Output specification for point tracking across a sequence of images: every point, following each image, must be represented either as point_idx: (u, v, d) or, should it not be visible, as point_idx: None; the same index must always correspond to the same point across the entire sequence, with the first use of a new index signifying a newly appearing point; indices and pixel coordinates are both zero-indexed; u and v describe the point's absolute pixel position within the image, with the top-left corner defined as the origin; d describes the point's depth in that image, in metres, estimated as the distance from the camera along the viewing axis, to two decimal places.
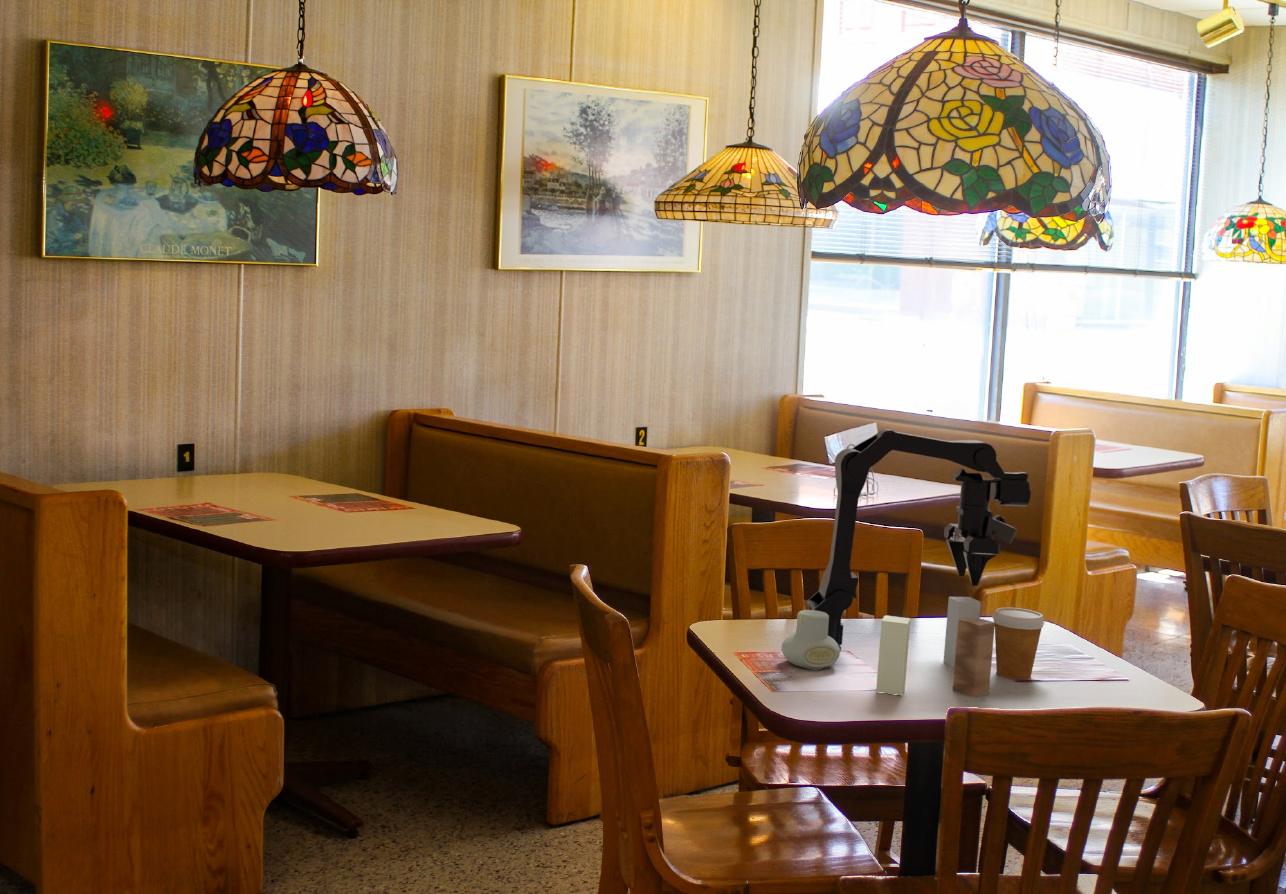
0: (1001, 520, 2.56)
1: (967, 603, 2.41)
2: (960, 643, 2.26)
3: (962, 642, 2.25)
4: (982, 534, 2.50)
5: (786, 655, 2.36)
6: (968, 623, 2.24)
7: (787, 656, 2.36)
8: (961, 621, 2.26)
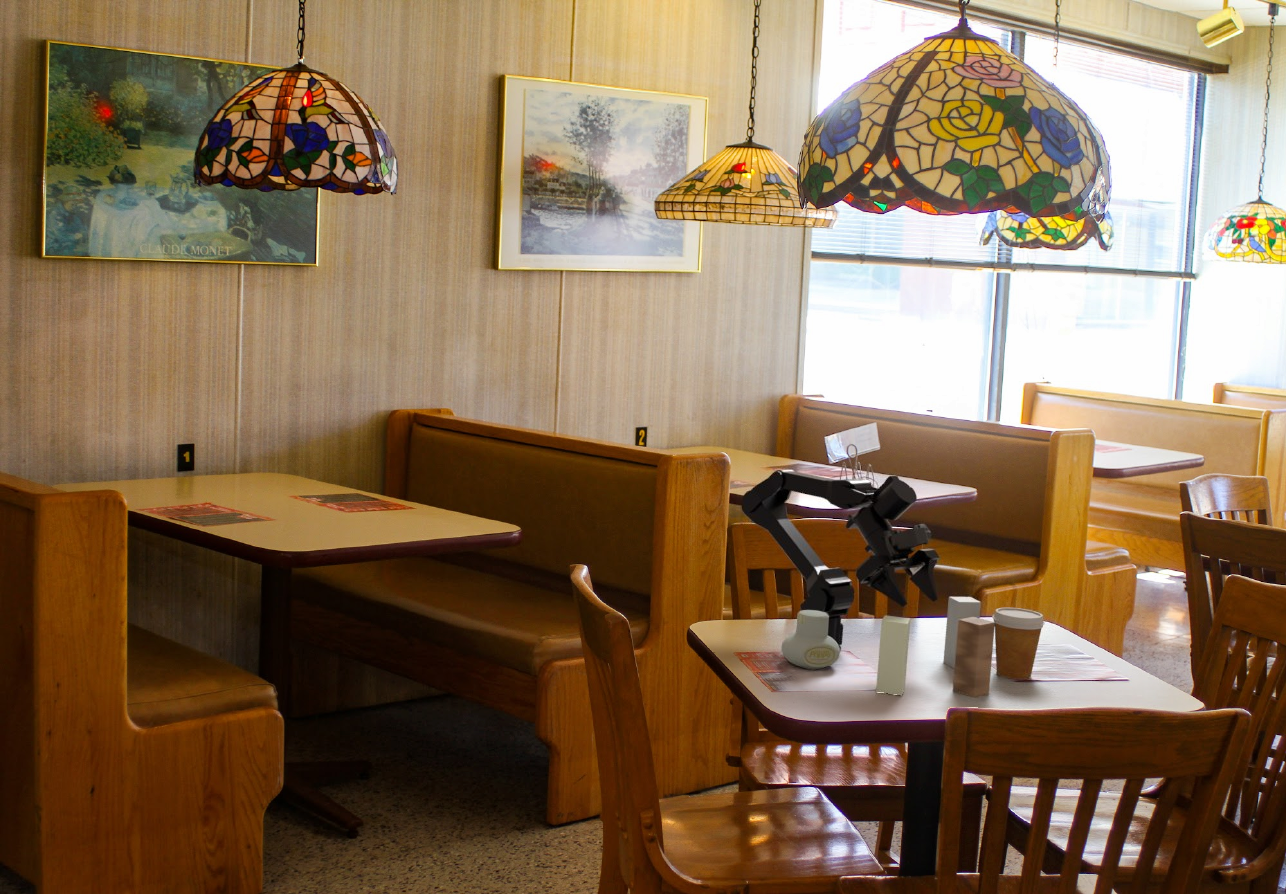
0: None
1: (967, 603, 2.41)
2: (960, 643, 2.26)
3: (962, 642, 2.25)
4: (889, 555, 2.37)
5: (786, 655, 2.36)
6: (968, 623, 2.24)
7: (787, 656, 2.36)
8: (961, 621, 2.26)
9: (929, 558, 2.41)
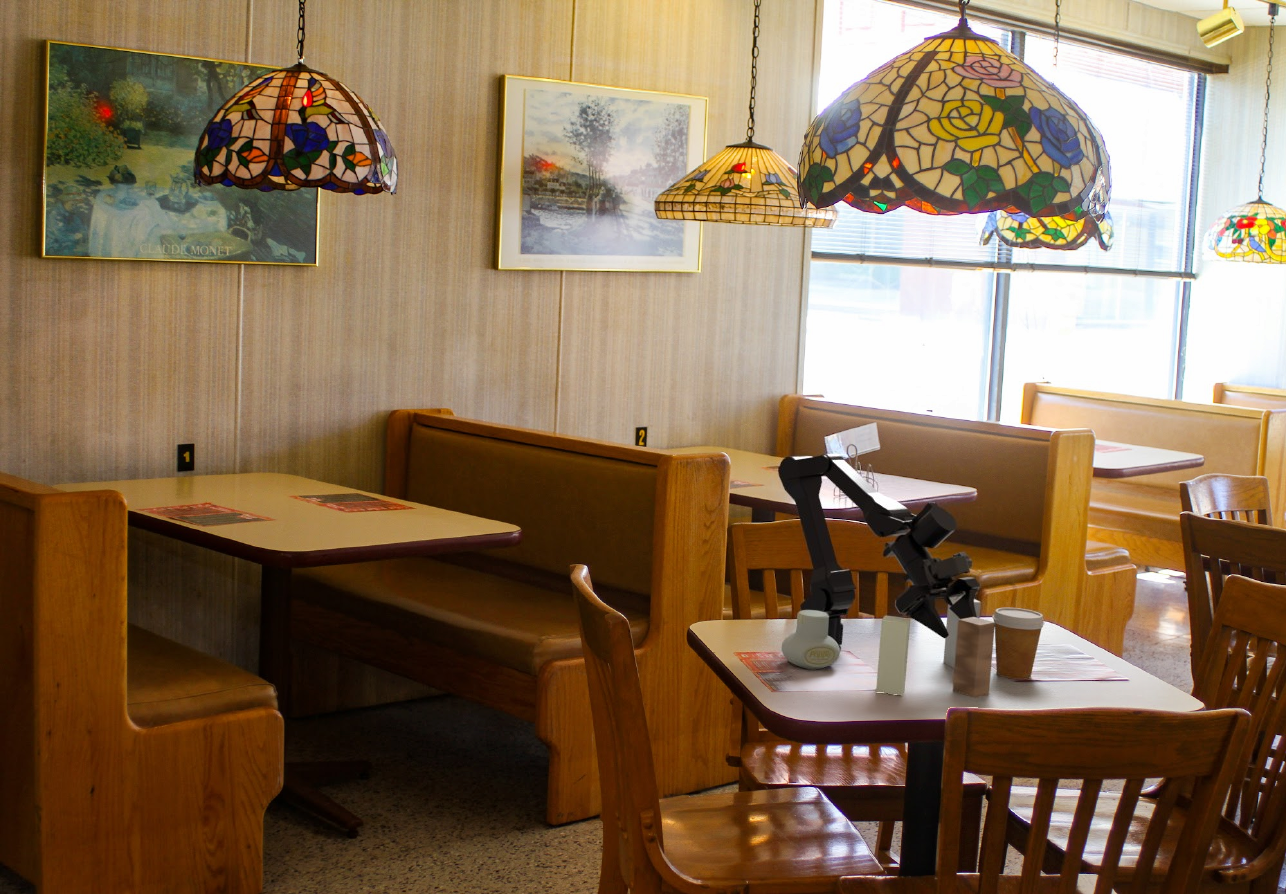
0: None
1: None
2: (960, 643, 2.26)
3: (962, 642, 2.25)
4: (929, 585, 2.30)
5: (786, 655, 2.36)
6: (968, 623, 2.24)
7: (787, 656, 2.36)
8: (961, 621, 2.26)
9: (970, 587, 2.34)
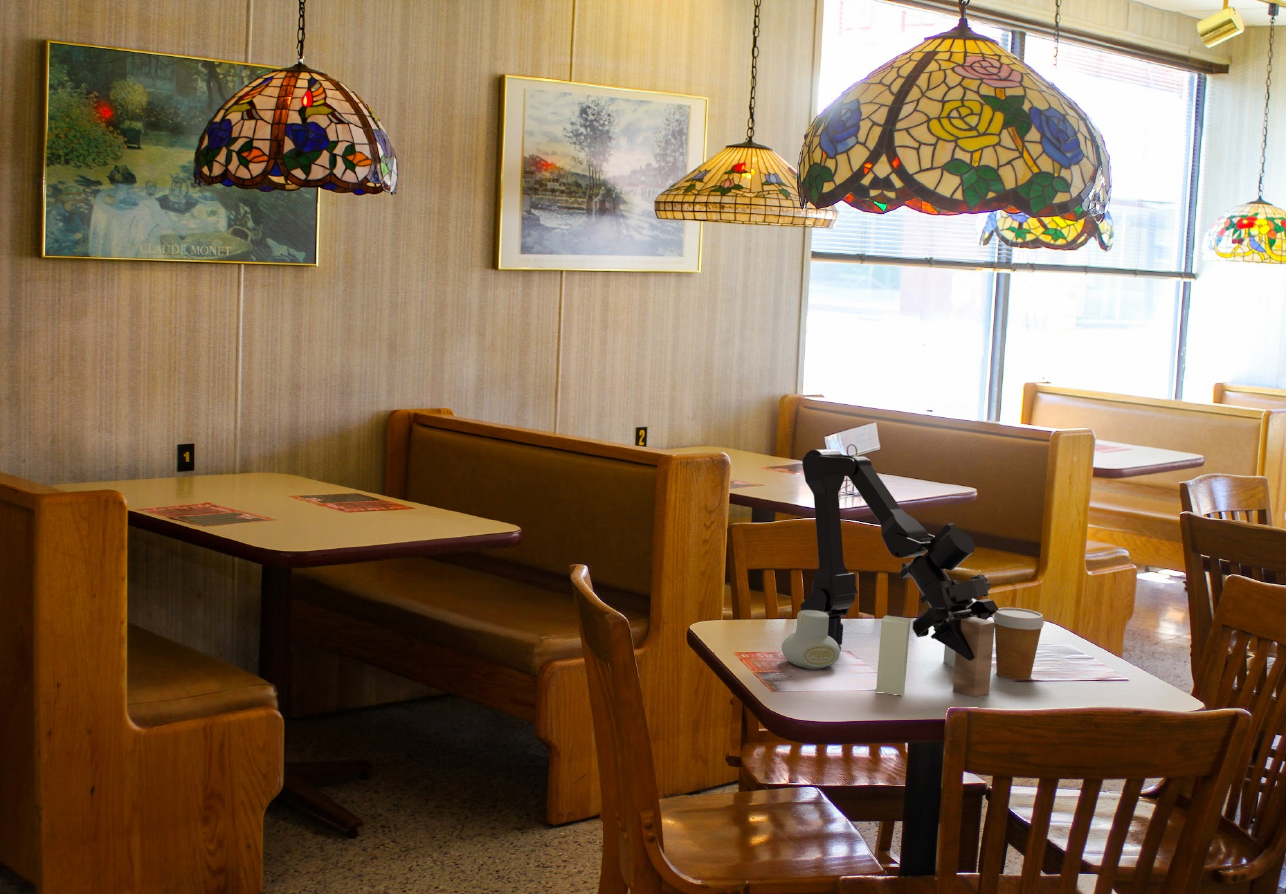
0: None
1: None
2: None
3: None
4: (947, 608, 2.27)
5: (786, 655, 2.36)
6: (968, 623, 2.24)
7: (787, 656, 2.36)
8: (961, 621, 2.26)
9: (988, 609, 2.31)
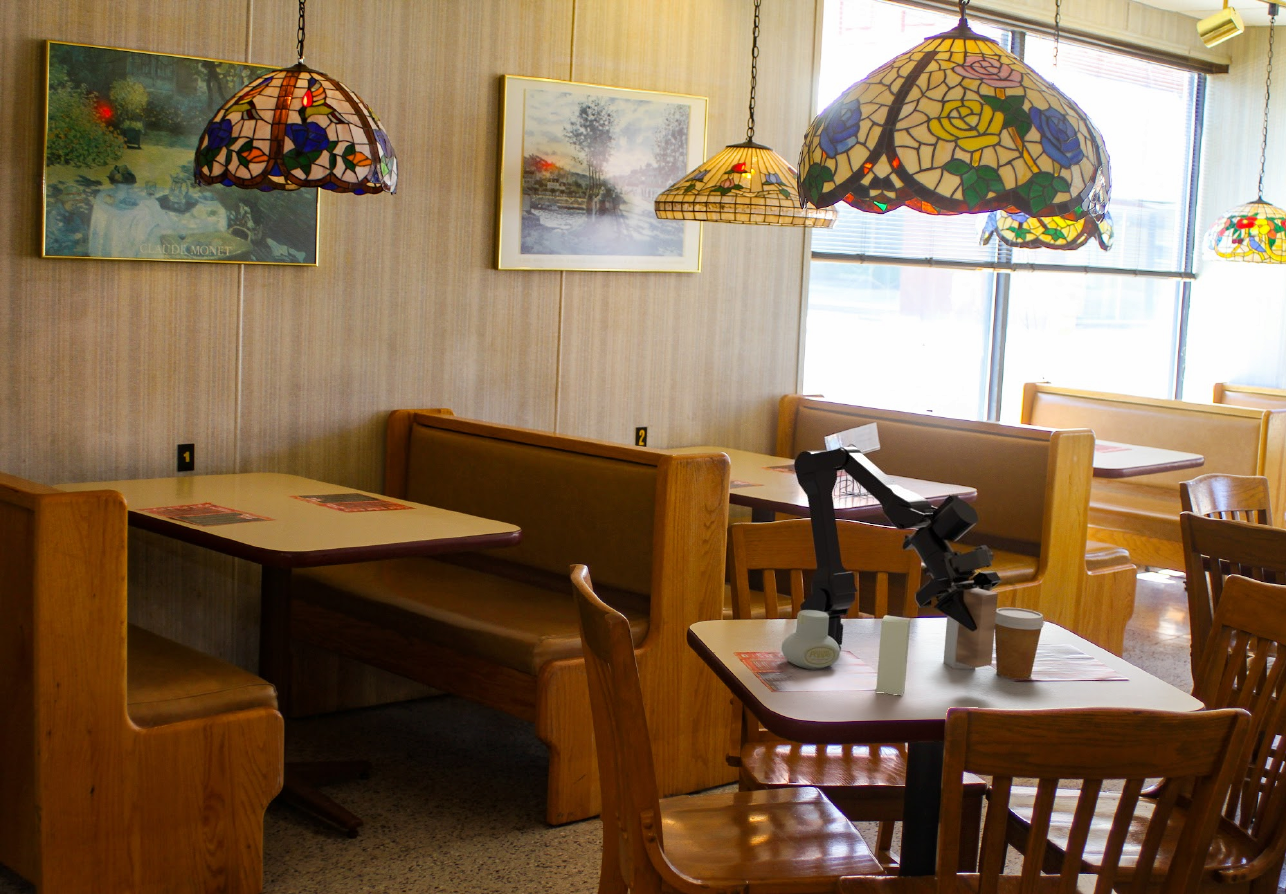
0: None
1: None
2: None
3: None
4: (950, 578, 2.27)
5: (786, 655, 2.36)
6: (971, 594, 2.24)
7: (787, 656, 2.36)
8: (964, 592, 2.25)
9: (990, 581, 2.30)
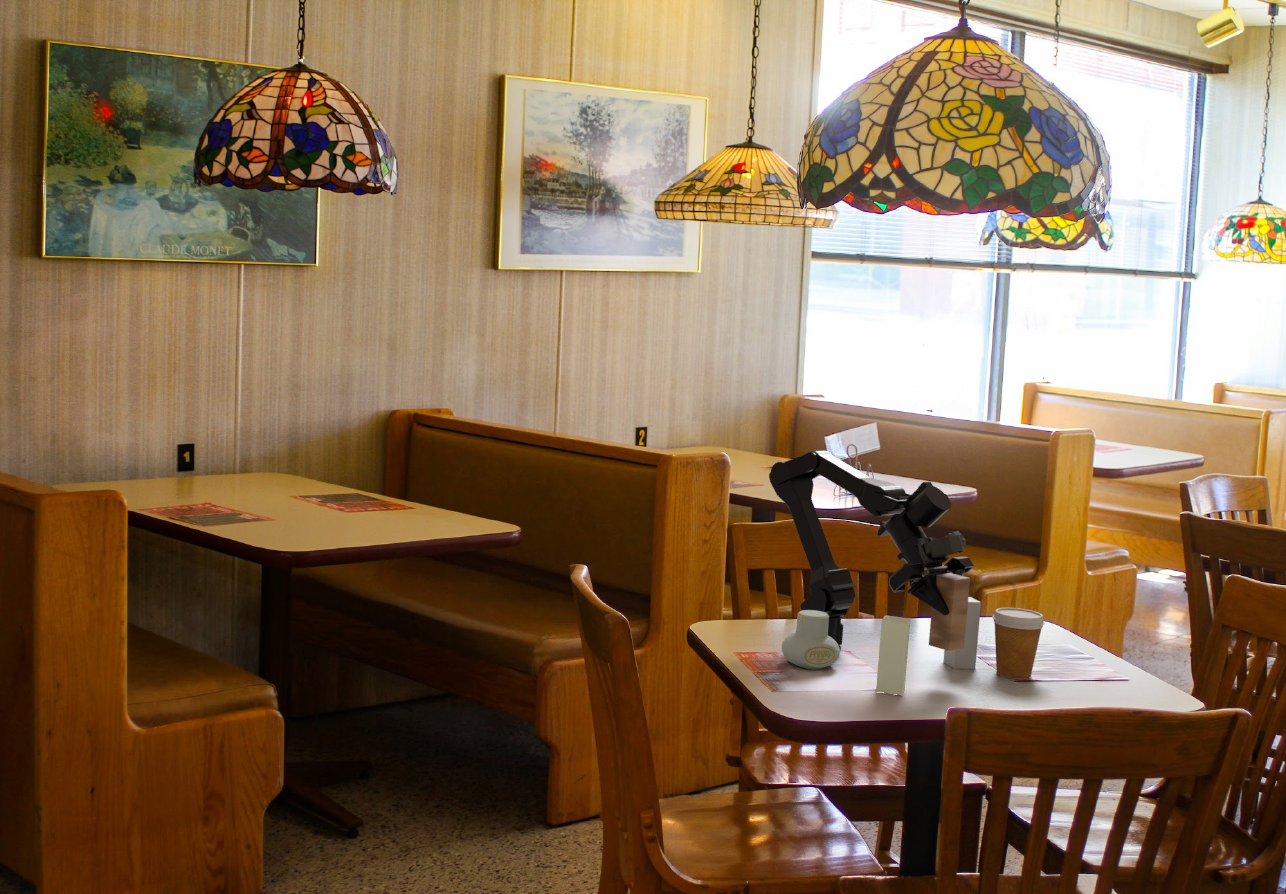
0: None
1: None
2: None
3: None
4: (923, 564, 2.31)
5: (786, 655, 2.36)
6: (944, 578, 2.28)
7: (787, 656, 2.36)
8: (937, 576, 2.29)
9: (963, 566, 2.35)
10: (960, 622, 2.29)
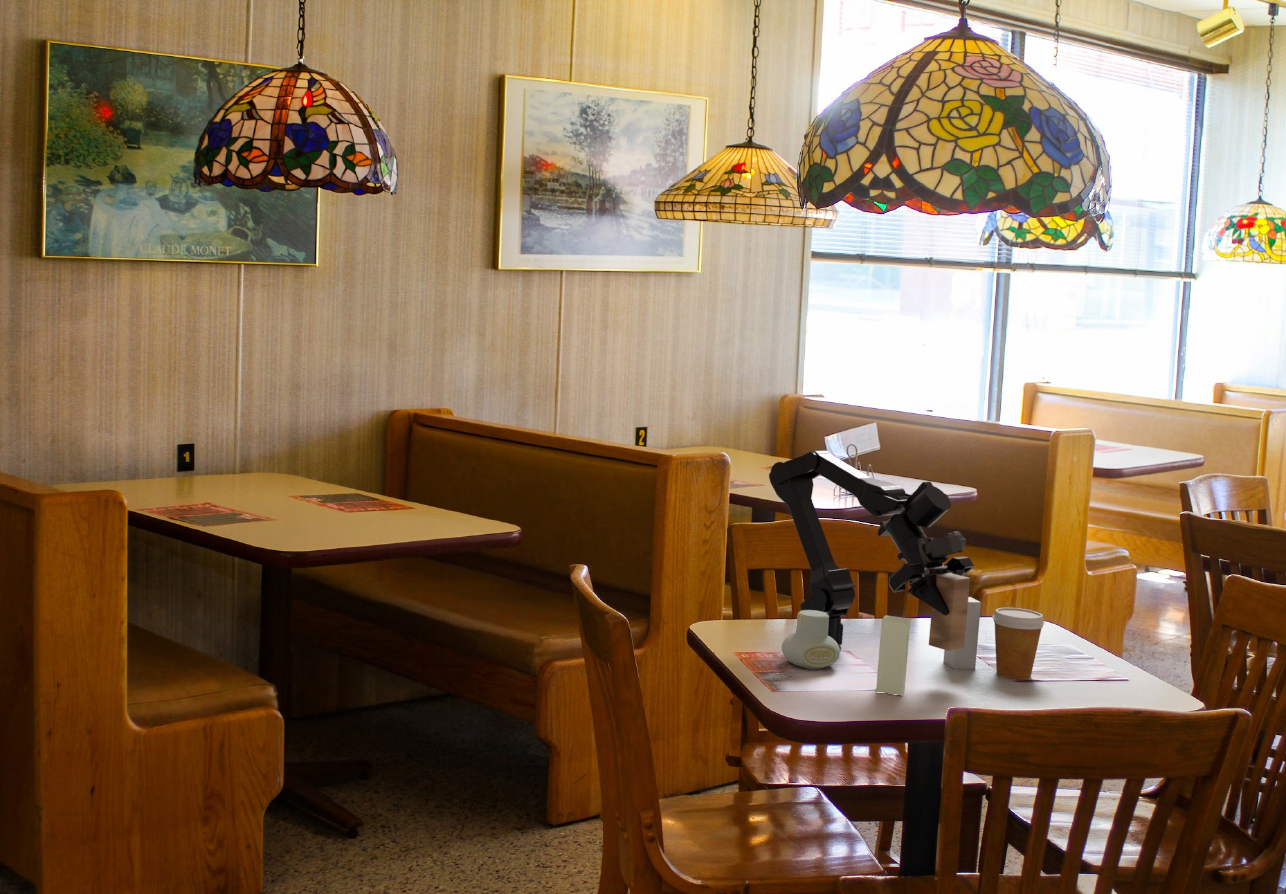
0: None
1: None
2: None
3: None
4: (923, 564, 2.31)
5: (786, 655, 2.36)
6: (944, 578, 2.28)
7: (787, 656, 2.36)
8: (937, 576, 2.29)
9: (963, 566, 2.35)
10: (960, 622, 2.29)
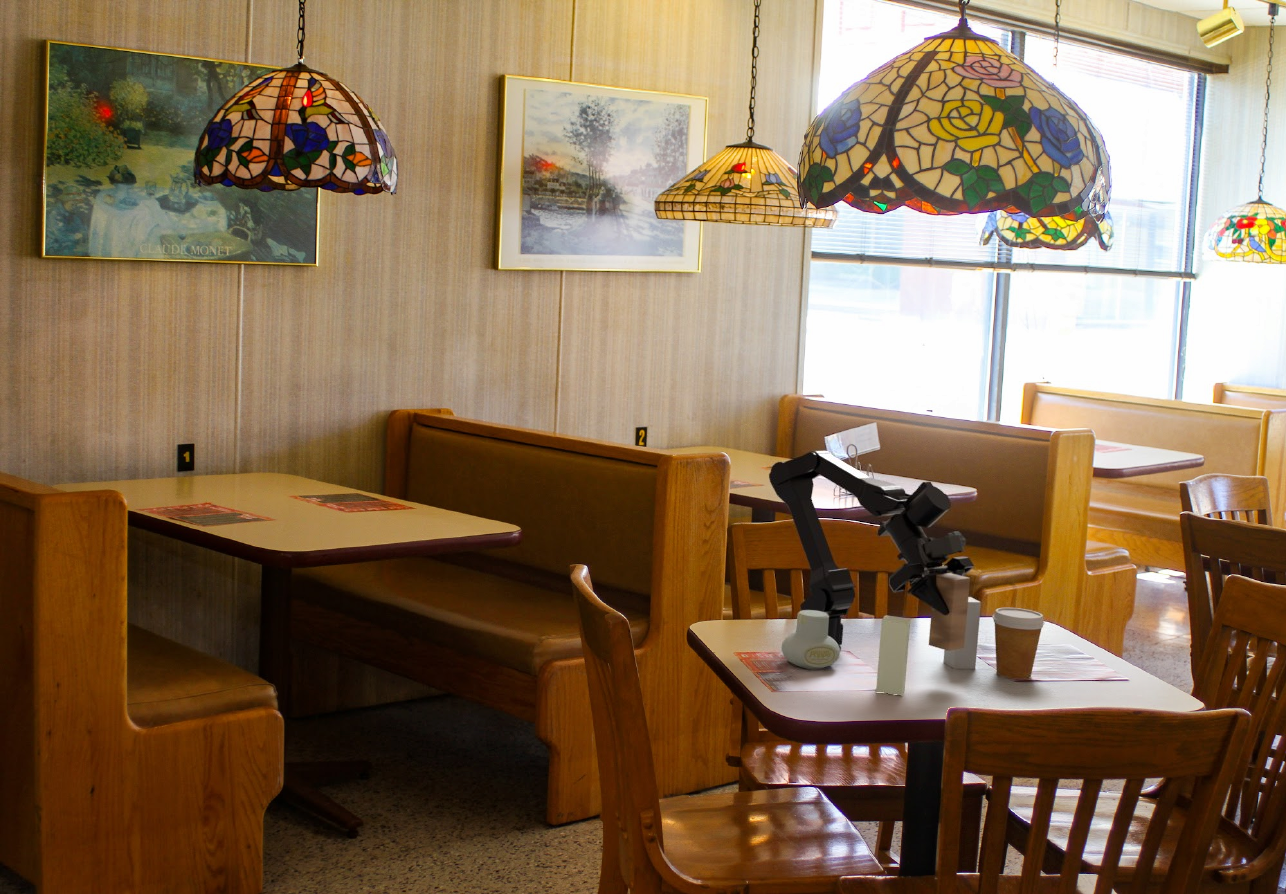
0: None
1: None
2: None
3: None
4: (923, 564, 2.31)
5: (786, 655, 2.36)
6: (944, 578, 2.28)
7: (787, 656, 2.36)
8: (937, 576, 2.29)
9: (963, 566, 2.35)
10: (960, 622, 2.29)
